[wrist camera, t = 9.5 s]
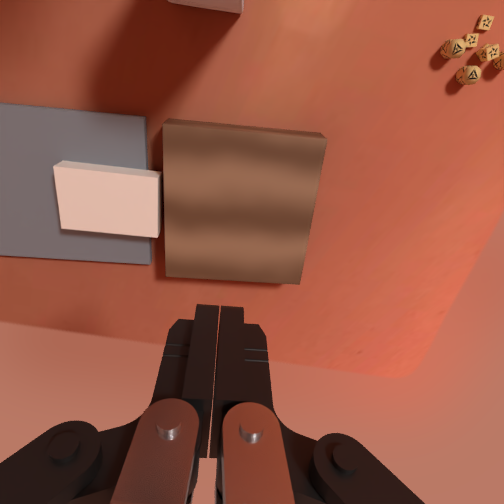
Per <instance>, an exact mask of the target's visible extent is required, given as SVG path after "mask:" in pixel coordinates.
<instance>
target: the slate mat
mask: <svg viewBox="0 0 504 504" xmlns="http://www.w3.org/2000/svg"><path fill="white" fill-rule="evenodd" d="M61 161H72V162H81V163H89V164H98V165H107V166H116V167H125V168H133V169H142V170H148V154H147V129H146V116H136V115H125V114H115V113H104V112H94V111H83V110H73V109H62V108H51V107H41V106H30V105H20V104H9V103H0V255H5V256H21V257H37V258H53V259H69V260H85V261H101V262H117V263H133V264H149V265H150V264H151V262H152V251H151V237H144V236H134V235H123V234H113V233H103V232H92V231H82V230H72V229H61V221H60V214H59V206H58V199H57V191H56V184H55V176H54V169H53V166H54V165H56V164H58V163H59V162H61Z"/></svg>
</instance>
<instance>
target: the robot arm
mask: <svg viewBox="0 0 504 504" xmlns="http://www.w3.org/2000/svg"><path fill="white" fill-rule="evenodd" d="M218 316H219V306H216V305H203V304H197V306H196V312H195V318H194V320H186V319H178V320H177V321H176V323H175V324H174V325H173V326H172V327H171V328H170V329H169V332H168V336H167V340H166V346H165V348H164V352H163V357H162V361H161V365H160V369H159V373H158V377H157V381H156V385H155V389H154V393H153V397H152V401H151V403H150V405H149V407H148V408H147V409H146V410H145V411H144V413H143V414H142V415H141V416H140V417H138V418H137V419H136V420H134V421H133V422H131V423H128V424H126V425H124V426H120V427H116V428H113V429H109V430H105V431H101V432H98V431H97V429H96V428H95V427H94V426H92V425H91V424H89V423H87V422H84V421H68V422H64V423H61V424H59V425H56V426H54V427H52V428H51V429H49V430H47V431H46V432H44V433H43V434H42V435H40V436H39V437H37V438H36V439H35V440H33V441H32V442H30V443H29V444H27V445H26V446H24V447H23V448H21V449H20V450H19V451H17V452H16V453H14V454H13V455H12V456H10V457H9V458H7V459H6V460H4V461H3V462H1V463H0V504H192V498H193V493H194V488H195V486H196V483H197V477H198V468H199V458H207V449H208V439H209V430H210V419H211V410H212V399H213V412H212V427H211V440H210V455H209V458H217V469H216V482H215V504H425V503H424V502H423V501H422V500H420V499H419V498H418V497H417V496H416V495H415V494H414V493H413V492H412V491H411V490H410V489H409V488H408V487H407V486H406V485H404V484H403V483H402V482H401V481H400V480H399V479H398V478H397V477H396V476H395V475H393V473H392V472H391V471H390V470H388V469H387V468H386V467H385V466H384V465H383V464H382V463H381V462H380V461H379V460H377V459H376V457H375V456H373V455H372V454H371V453H370V452H369V451H368V450H367V449H366V448H365V447H363V445H362V444H360V443H359V442H358V441H357V440H355V439H353V438H352V437H350V436H348V435H344V434H340V433H331V434H327V435H325V436H323V437H322V438H320V439H319V440H318V441H316V440H314V439H311V438H308V437H305V436H303V435H300V434H298V433H295V432H293V431H292V430H290V429H289V428H287V427H286V426H285V425H284V424H283V423H282V422H281V421H280V420H279V418H278V417H277V415H276V413H275V411H274V408H273V402H272V391H271V381H270V371H269V363H268V352H267V341H266V335H265V334H264V332H263V331H262V329H261V328H260V326H259V325H258V324H245V323H244V309H243V307H231V306H221V312H220V323H219V333H218V343H217V330H218ZM216 344H217V355H216ZM215 358H216V369H215ZM214 372H215V384H214ZM213 385H214V397H213Z"/></svg>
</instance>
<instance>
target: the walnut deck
mask: <svg viewBox="0 0 504 504" xmlns="http://www.w3.org/2000/svg"><path fill="white" fill-rule="evenodd" d="M162 125H163V174H164V222H165V270H166V277H181V278H197V279H214V280H231V281H247V282H264V283H281V284H297V285H300V281H301V275H302V270H303V265H304V260H305V254H306V249H307V244H308V239H309V233H310V228H311V223H312V217H313V212H314V207H315V202H316V196H317V191H318V186H319V181H320V175H321V170H322V165H323V160H324V154H325V149H326V144H327V138H325V137H324V136H323V135H322V134H321V133H316V132H305V131H295V130H284V129H273V128H263V127H252V126H242V125H231V124H221V123H210V122H199V121H189V120H178V119H167V120H166V121H165V122H164V123H163V124H162Z"/></svg>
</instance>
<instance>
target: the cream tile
mask: <svg viewBox="0 0 504 504" xmlns="http://www.w3.org/2000/svg"><path fill="white" fill-rule="evenodd" d="M53 169H54V176H55V184H56V191H57V199H58V206H59V214H60V221H61V229H72V230H82V231H92V232H103V233H113V234H123V235H134V236H144V237H154V238H158V236H159V234H160V231H161V223H162V172H160V171H151V170H142V169H133V168H125V167H116V166H107V165H98V164H89V163H81V162H72V161H61V162H59V163H58V164H56V165H54V166H53Z"/></svg>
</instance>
